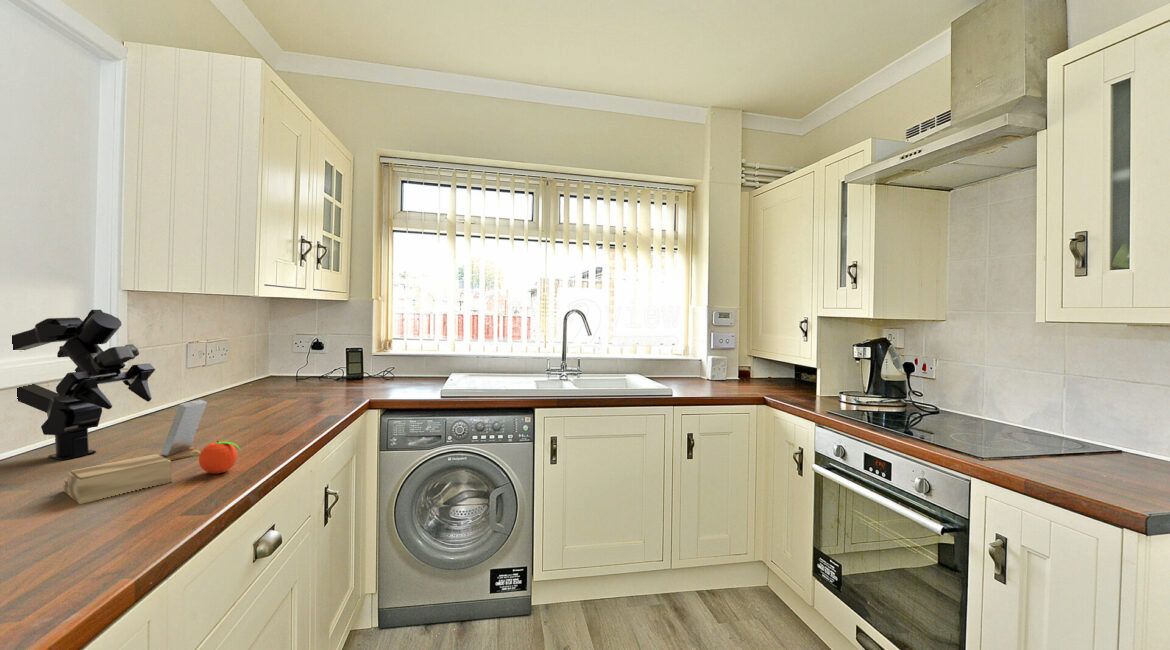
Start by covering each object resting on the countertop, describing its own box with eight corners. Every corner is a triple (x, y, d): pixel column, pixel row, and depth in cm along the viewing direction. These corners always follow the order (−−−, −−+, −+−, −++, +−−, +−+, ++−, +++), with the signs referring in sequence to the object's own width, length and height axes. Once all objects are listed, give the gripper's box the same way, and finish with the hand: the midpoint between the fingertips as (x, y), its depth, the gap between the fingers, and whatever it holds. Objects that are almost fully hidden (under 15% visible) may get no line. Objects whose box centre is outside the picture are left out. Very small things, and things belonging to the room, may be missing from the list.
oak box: (63, 491, 101) (62, 467, 101) (152, 471, 113) (151, 450, 113) (79, 504, 95) (78, 479, 94) (172, 482, 106) (171, 459, 106)
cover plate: (160, 453, 120) (179, 404, 119) (183, 445, 126) (201, 399, 125) (167, 456, 120) (186, 407, 119) (189, 448, 126) (207, 402, 125)
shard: (145, 469, 116) (145, 461, 116) (134, 463, 121) (134, 456, 121) (201, 457, 125) (201, 450, 125) (189, 452, 130) (189, 445, 130)
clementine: (248, 466, 116) (247, 435, 116) (235, 476, 110) (234, 444, 109) (208, 469, 115) (207, 438, 114) (192, 479, 108) (191, 446, 108)
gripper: (64, 337, 112) (108, 387, 111) (147, 332, 131) (186, 375, 130) (36, 371, 114) (80, 421, 113) (122, 362, 132) (161, 404, 131)
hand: (131, 404), depth 122 cm, fingers open, 9 cm apart
